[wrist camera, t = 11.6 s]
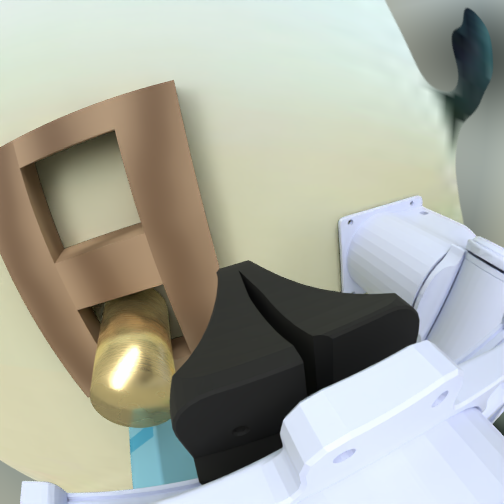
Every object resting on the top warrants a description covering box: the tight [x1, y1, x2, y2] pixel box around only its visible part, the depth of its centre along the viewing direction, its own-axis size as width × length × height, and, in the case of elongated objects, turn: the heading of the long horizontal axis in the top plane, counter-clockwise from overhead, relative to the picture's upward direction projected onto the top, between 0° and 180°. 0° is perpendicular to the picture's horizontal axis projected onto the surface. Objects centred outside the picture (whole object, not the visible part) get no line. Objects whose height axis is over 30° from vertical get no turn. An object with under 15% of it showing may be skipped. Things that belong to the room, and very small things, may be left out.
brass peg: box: [90, 288, 175, 428], centre depth 18 cm, size 5×5×9 cm
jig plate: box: [0, 80, 220, 397], centre depth 19 cm, size 14×20×2 cm
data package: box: [129, 419, 198, 489], centre depth 23 cm, size 12×4×12 cm, turn 44°
